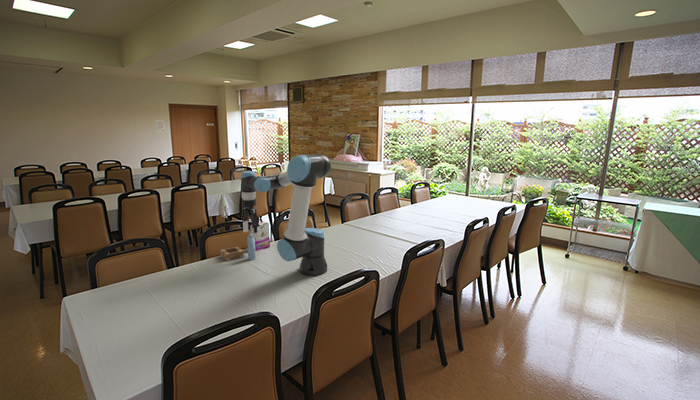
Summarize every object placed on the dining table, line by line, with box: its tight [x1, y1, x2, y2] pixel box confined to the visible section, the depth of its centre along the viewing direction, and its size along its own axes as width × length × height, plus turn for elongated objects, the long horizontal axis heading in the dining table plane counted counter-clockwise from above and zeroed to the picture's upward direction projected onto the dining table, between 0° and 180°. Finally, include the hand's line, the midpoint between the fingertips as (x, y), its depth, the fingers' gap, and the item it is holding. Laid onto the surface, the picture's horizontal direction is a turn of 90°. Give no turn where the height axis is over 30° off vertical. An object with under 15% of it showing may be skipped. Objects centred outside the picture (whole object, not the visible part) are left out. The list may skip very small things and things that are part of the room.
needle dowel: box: [246, 233, 256, 261], centre depth 200 cm, size 4×4×16 cm
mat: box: [219, 253, 248, 263], centre depth 205 cm, size 14×12×1 cm
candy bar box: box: [250, 221, 271, 252], centre depth 219 cm, size 11×5×16 cm, turn 143°
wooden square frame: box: [220, 246, 245, 262], centre depth 204 cm, size 10×10×4 cm
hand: (250, 234), depth 199 cm, fingers open, 13 cm apart
